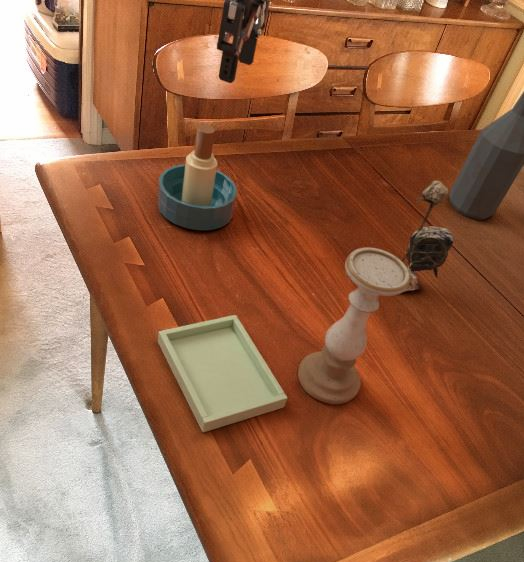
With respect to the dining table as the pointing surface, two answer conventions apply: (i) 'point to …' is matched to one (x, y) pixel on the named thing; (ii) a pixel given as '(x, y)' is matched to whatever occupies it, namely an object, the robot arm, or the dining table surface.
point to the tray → (220, 372)
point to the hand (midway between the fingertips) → (235, 71)
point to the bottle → (491, 166)
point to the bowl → (194, 214)
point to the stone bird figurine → (428, 239)
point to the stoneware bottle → (200, 169)
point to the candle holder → (352, 326)
